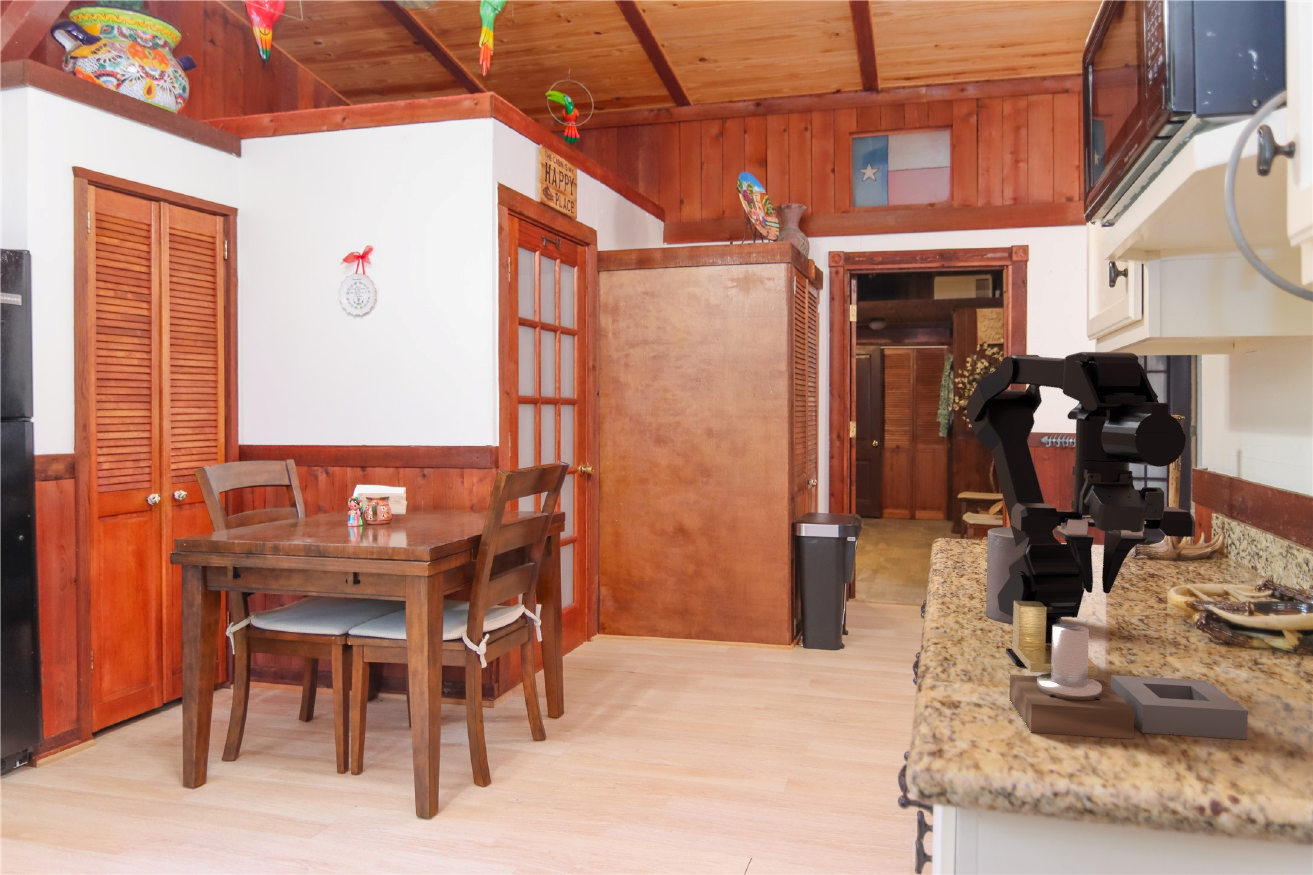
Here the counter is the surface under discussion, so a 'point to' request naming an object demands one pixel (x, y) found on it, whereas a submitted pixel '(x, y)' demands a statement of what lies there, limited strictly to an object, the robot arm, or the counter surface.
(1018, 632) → the brass key
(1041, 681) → the steel pin
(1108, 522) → the robot arm
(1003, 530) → the pillar candle
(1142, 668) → the counter surface
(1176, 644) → the counter surface
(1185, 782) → the counter surface
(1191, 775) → the counter surface
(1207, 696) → the grey square collar
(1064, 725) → the walnut socket block
